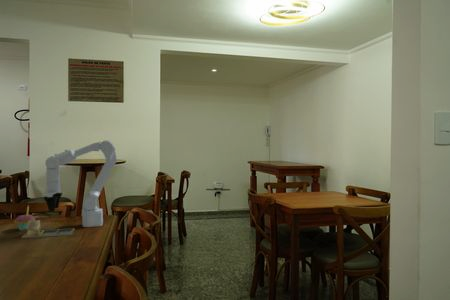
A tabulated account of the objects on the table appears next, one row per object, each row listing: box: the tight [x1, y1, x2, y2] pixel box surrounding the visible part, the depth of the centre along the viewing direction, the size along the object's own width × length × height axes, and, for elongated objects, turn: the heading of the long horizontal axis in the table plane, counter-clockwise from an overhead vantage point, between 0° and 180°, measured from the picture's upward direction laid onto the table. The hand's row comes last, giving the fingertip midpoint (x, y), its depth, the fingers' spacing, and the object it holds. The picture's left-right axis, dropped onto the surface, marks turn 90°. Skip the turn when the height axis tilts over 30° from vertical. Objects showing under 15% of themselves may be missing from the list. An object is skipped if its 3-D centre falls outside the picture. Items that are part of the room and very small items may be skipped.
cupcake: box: [14, 204, 36, 231], centre depth 156 cm, size 9×8×12 cm
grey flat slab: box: [20, 227, 76, 239], centre depth 146 cm, size 20×9×1 cm, turn 106°
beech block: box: [27, 219, 41, 236], centre depth 144 cm, size 4×4×6 cm
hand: (53, 209), depth 154 cm, fingers open, 7 cm apart
